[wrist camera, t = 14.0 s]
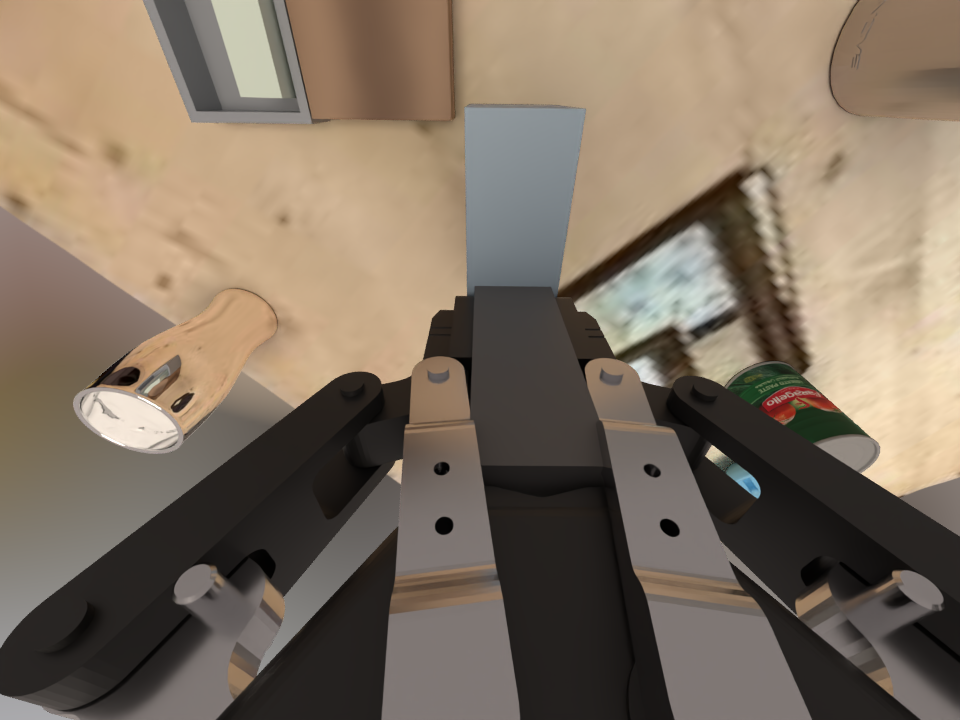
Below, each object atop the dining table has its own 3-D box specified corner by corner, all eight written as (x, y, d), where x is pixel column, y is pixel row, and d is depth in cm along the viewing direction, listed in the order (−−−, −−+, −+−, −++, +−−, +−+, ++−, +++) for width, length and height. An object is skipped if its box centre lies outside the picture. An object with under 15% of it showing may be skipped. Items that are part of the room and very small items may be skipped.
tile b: (255, -8, 19) (207, -10, 19) (282, 98, 21) (240, 97, 21) (292, 9, 22) (252, 7, 22) (311, 98, 25) (275, 96, 25)
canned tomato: (779, 348, 38) (867, 423, 30) (805, 385, 42) (892, 463, 33) (709, 388, 42) (769, 466, 33) (738, 420, 45) (800, 498, 36)
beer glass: (280, 293, 35) (173, 398, 23) (284, 349, 39) (195, 462, 27) (203, 275, 34) (49, 375, 22) (215, 334, 38) (91, 446, 26)
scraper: (552, 105, 13) (776, 131, 3) (524, 366, 20) (565, 619, 10) (469, 103, 13) (434, 127, 3) (471, 366, 20) (462, 619, 10)
